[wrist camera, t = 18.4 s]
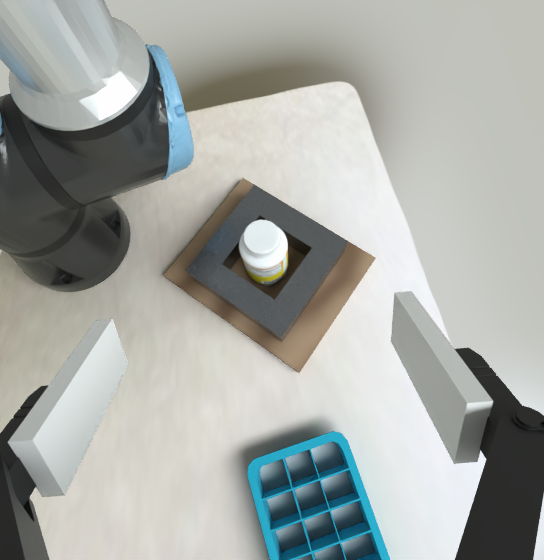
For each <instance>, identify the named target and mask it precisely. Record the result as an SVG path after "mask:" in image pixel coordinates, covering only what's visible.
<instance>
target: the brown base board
mask: <svg viewBox="0 0 544 560" xmlns="http://www.w3.org/2000/svg"><path fill="white" fill-rule="evenodd" d="M253 186H254V184H252V183H250V182H249V181H247V180H245V179H244V178H243V179H242V180H241V181H240V182H239V184H238V185H237V186H236V187H235V188H234V190H233V191H232V192H231V193H230V195H229V196H228V197H227V198H226V199H225V201H224V202H223V203H222V204H221V206H220V207H219V208H218V209H217V210H216V212H215V213H214V214H213V215H212V217H211V218H210V219H209V220H208V221H207V223H206V224H205V225H204V226H203V228H202V229H201V230H200V231H199V232H198V234H197V235H196V236H195V237H194V239H193V240H192V241H191V242H190V243H189V245H188V246H187V247H186V248H185V250H184V251H183V252H182V253H181V254H180V256H179V257H178V258H177V259H176V261H175V262H174V263H173V264H172V265H171V267H170V268H169V269H168V270H167V272H166V273H165V274H164V276H165V277H166V278H167V279H169V280H170V281H171V282H173V283H174V284H176V285H177V286H178V287H180V288H181V289H183V290H184V291H185V292H187V293H188V294H190V295H191V296H192V297H194V298H195V299H197V300H198V301H199V302H201V303H202V304H204V305H205V306H206V307H208V308H209V309H211V310H212V311H213V312H215V313H216V314H218V315H219V316H220V317H222V318H223V319H225V320H226V321H227V322H229V323H230V324H232V325H233V326H234V327H236V328H237V329H239V330H240V331H241V332H243V333H244V334H246V335H247V336H248V337H250V338H251V339H253V340H254V341H255V342H257V343H258V344H260V345H261V346H262V347H264V348H265V349H267V350H268V351H269V352H271V353H272V354H274V355H275V356H276V357H278V358H279V359H281V360H282V361H283V362H285V363H286V364H288V365H289V366H290V367H292V368H293V369H295V370H296V371H297V372H300V371H301V369H302V368H303V366H304V365H305V363H306V362H307V360H308V359H309V357H310V356H311V354H312V353H313V351H314V350H315V348H316V347H317V345H318V344H319V342H320V341H321V339H322V338H323V336H324V335H325V333H326V332H327V330H328V329H329V327H330V326H331V324H332V323H333V321H334V320H335V318H336V317H337V315H338V314H339V312H340V311H341V309H342V308H343V306H344V305H345V303H346V302H347V300H348V299H349V297H350V296H351V294H352V293H353V291H354V290H355V288H356V287H357V285H358V284H359V282H360V281H361V279H362V278H363V276H364V275H365V273H366V272H367V270H368V269H369V267H370V266H371V264H372V263H373V261H374V260H375V257H373V256H372V255H370V254H368V253H367V252H365V251H363V250H362V249H360V248H358V247H357V246H355V245H353V244H352V243H350V242H348V244H347V246H346V249H345V251H344V254H343V255H342V257H341V258H340V260H339V261H338V262H337V264H336V265H335V267H334V268H333V270H332V271H331V273H330V274H329V275H328V277H327V278H326V280H325V281H324V283H323V284H322V286H321V287H320V288H319V290H318V291H317V293H316V294H315V296H314V297H313V299H312V300H311V301H310V303H309V304H308V306H307V307H306V309H305V310H304V312H303V313H302V314H301V316H300V317H299V319H298V320H297V322H296V323H295V325H294V326H293V327H292V329H291V330H290V332H289V333H288V335H287V336H286V338H285V339H284V340H283V342H281V341H280V340H278V339H277V338H275V337H274V336H273V335H271V334H270V333H268V332H267V331H265V330H264V329H263V328H261V327H260V326H258V325H257V324H256V323H254V322H253V321H251V320H250V319H248V318H247V317H246V316H244V315H243V314H241V313H240V312H238V311H237V310H236V309H234V308H233V307H231V306H230V305H228V304H227V303H226V302H224V301H223V300H221V299H220V298H218V297H217V296H216V295H214V294H213V293H211V292H210V291H208V290H207V289H206V288H204V287H203V286H201V285H200V284H198V283H197V282H196V281H194V280H193V279H192V278H191V276H190V275H189V274H188V273H187V272H186V271H185V270H186V269H187V268H188V266H189V265H190V264H191V263H192V261H193V260H194V259H195V258H196V256H197V255H198V254H199V253H200V251H201V250H202V249H203V248H204V246H205V245H206V244H207V243H208V241H209V240H210V239H211V238H212V237H213V235H214V234H215V233H216V232H217V230H218V229H219V228H220V227H221V225H222V224H223V223H224V222H225V220H226V219H227V218H228V217H229V215H230V214H231V213H232V212H233V210H234V209H235V208H236V207H237V205H238V204H239V203H240V202H241V200H242V199H243V198H244V197H245V195H246V194H247V193H248V192H249V191H250V189H251V188H252V187H253ZM305 257H306V256H304V255H303V254H301V253H300V252H298V251H297V250H295V249H293V248H292V247H290V246H289V245H288V270H287V273H286V275H285V277H284V278H283V279H282V280H281V281H280V282H278V283H277V284H274V285H270V286H264V285H260V284H257V283H256V282H254V281H253V280H252V279H251V278H250V277H249V275H248V273H247V270H246V268H245V265H244V262H243V259H242V257H240V258H239V259H238V260H237V262H236V263H235V264H234V266H233V267H232V268H231V271H233V272H234V273H236V274H237V275H239V276H240V277H242V278H243V279H245V280H246V281H248V282H249V283H251V284H252V285H254V286H255V287H256V288H258V289H259V290H261V291H262V292H264V293H265V294H267V295H268V296H270V297H271V298H273V299H274V300H275V299H276V297H277V296H278V295H279V293H280V292H281V290H282V289H283V288H284V286H285V285H286V284H287V282H288V281H289V279H290V278H291V277H292V275H293V274H294V272H295V271H296V270H297V268H298V267H299V265H300V264H301V263H302V261H303V260H304V259H305Z"/></svg>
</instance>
